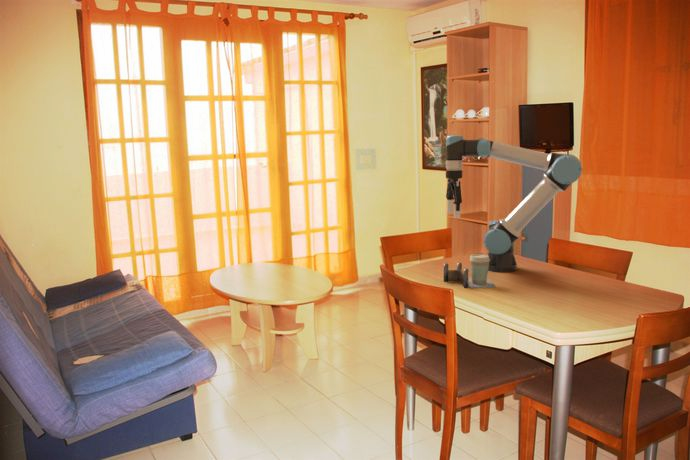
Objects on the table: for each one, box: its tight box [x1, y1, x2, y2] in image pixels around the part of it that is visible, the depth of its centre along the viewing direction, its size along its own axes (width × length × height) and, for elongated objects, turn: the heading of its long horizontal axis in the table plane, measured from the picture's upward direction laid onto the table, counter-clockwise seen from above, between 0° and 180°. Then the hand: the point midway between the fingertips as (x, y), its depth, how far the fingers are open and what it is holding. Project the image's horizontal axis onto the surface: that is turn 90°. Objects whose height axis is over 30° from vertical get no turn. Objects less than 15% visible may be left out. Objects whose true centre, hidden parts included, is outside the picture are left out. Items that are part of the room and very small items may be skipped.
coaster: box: [468, 278, 497, 289], centre depth 257 cm, size 11×11×1 cm
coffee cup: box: [469, 253, 490, 285], centre depth 256 cm, size 9×9×12 cm
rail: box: [443, 262, 469, 289], centre depth 257 cm, size 8×13×8 cm, turn 3°
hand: (453, 215), depth 274 cm, fingers open, 13 cm apart
